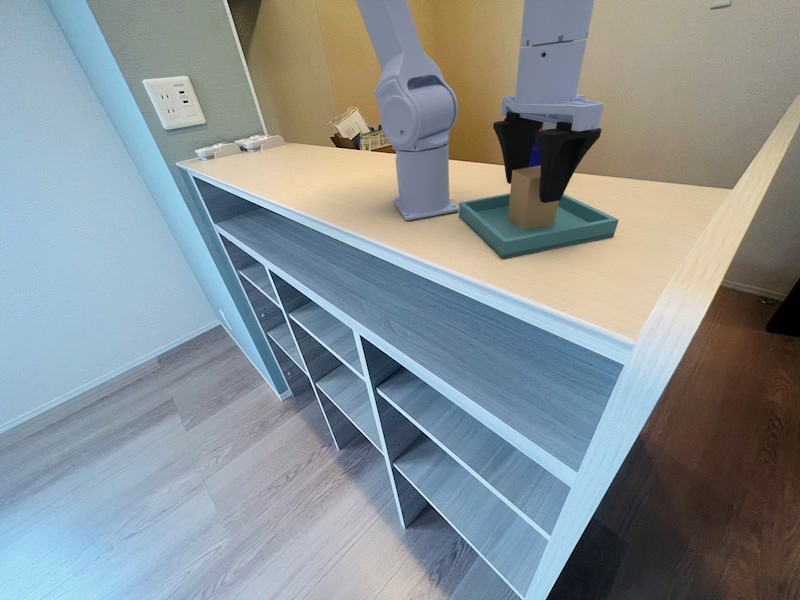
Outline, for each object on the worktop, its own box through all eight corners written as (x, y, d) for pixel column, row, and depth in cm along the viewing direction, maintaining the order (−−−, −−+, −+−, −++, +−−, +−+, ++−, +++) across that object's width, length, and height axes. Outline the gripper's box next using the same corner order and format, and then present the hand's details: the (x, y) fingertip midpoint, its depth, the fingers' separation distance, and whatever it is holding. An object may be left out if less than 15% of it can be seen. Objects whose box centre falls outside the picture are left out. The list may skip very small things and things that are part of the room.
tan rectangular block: (507, 218, 41) (512, 170, 38) (536, 213, 42) (543, 164, 38) (523, 230, 38) (530, 178, 35) (554, 224, 39) (564, 172, 35)
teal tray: (459, 216, 45) (459, 202, 44) (545, 200, 46) (548, 186, 45) (502, 259, 34) (504, 242, 33) (613, 236, 36) (618, 219, 34)
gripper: (656, 30, 24) (606, 204, 32) (547, 45, 36) (530, 170, 44) (571, 40, 24) (542, 216, 32) (488, 52, 35) (482, 178, 43)
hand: (531, 190), depth 38 cm, fingers open, 7 cm apart
